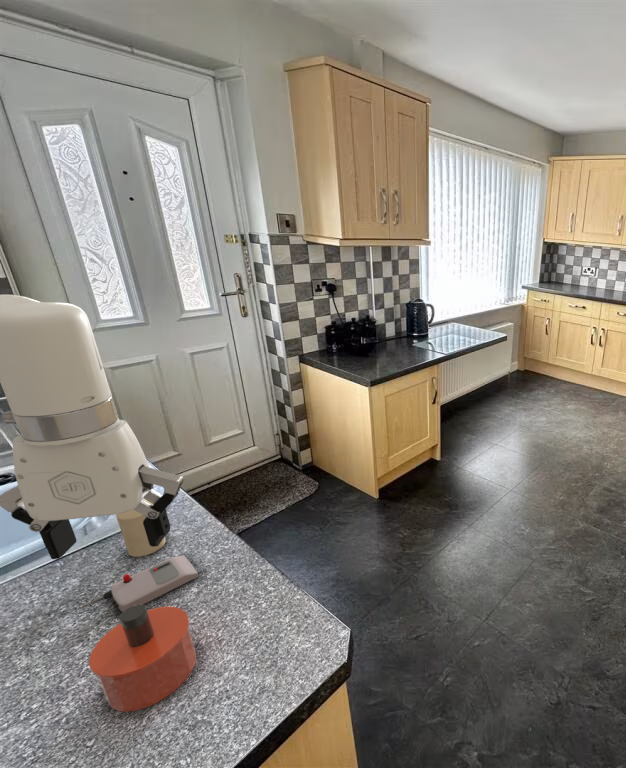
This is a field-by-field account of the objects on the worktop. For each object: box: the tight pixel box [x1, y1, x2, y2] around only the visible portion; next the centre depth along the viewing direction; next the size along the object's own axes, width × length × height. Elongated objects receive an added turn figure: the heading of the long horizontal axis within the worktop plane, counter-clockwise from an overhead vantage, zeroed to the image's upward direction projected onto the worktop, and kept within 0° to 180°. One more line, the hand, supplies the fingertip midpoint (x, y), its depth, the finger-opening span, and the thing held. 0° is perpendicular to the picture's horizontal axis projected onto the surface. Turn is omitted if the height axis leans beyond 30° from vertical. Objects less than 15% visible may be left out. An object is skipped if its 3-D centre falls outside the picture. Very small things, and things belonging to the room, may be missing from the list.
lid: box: [88, 604, 190, 678], centre depth 55 cm, size 10×10×6 cm
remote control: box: [81, 554, 202, 614], centre depth 71 cm, size 7×16×3 cm, turn 143°
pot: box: [95, 626, 197, 713], centre depth 57 cm, size 9×9×6 cm
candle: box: [115, 498, 166, 558], centre depth 78 cm, size 6×6×10 cm
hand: (113, 544), depth 52 cm, fingers open, 9 cm apart
